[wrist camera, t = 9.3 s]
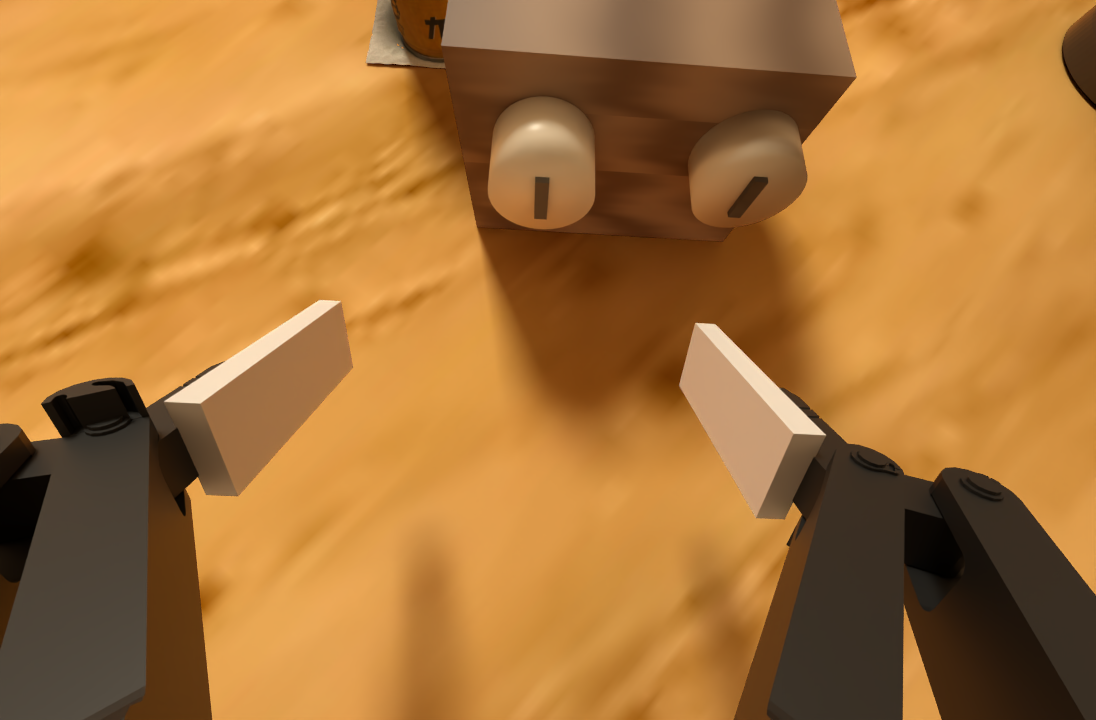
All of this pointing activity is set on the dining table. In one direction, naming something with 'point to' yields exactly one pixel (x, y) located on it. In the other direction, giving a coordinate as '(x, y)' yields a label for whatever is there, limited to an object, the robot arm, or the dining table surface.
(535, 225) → the knob
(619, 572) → the dining table surface
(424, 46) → the condiment
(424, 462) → the dining table surface
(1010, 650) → the robot arm
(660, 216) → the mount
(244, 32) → the dining table surface
